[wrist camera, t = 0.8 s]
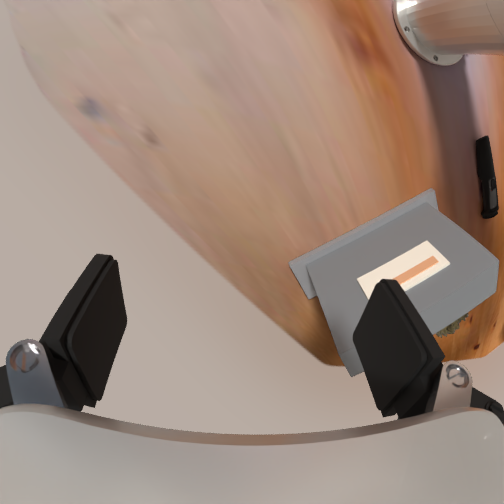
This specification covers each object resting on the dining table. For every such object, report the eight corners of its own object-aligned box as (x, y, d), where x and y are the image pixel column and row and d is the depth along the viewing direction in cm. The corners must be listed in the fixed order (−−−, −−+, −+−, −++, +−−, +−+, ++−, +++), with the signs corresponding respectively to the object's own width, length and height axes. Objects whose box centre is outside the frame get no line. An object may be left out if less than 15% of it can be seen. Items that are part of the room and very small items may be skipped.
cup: (430, 313, 48) (448, 341, 41) (409, 304, 46) (429, 334, 39) (453, 285, 45) (474, 310, 38) (434, 273, 43) (458, 301, 36)
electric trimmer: (481, 129, 31) (494, 133, 28) (492, 209, 38) (502, 217, 35) (468, 135, 31) (481, 140, 29) (479, 218, 38) (490, 225, 36)
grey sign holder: (430, 188, 35) (510, 244, 20) (438, 226, 38) (505, 288, 24) (288, 262, 40) (316, 358, 25) (307, 295, 43) (336, 388, 28)
